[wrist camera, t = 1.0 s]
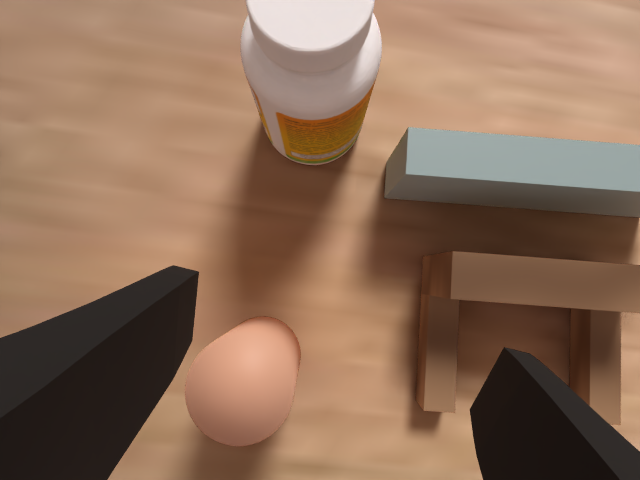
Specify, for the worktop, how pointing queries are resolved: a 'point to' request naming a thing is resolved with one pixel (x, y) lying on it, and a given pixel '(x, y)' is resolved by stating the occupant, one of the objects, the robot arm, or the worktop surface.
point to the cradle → (529, 289)
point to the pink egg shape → (244, 382)
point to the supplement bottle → (311, 72)
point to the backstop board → (515, 172)
